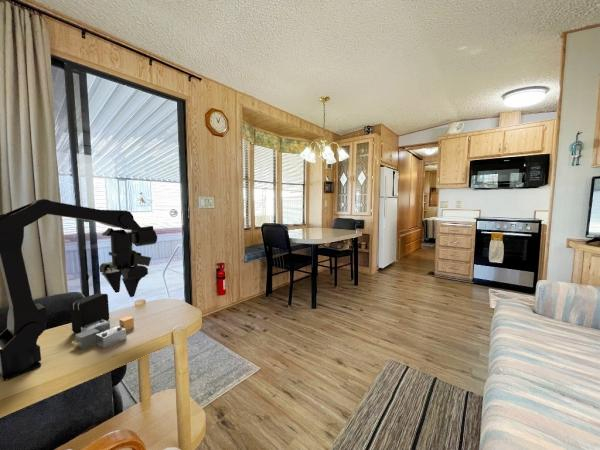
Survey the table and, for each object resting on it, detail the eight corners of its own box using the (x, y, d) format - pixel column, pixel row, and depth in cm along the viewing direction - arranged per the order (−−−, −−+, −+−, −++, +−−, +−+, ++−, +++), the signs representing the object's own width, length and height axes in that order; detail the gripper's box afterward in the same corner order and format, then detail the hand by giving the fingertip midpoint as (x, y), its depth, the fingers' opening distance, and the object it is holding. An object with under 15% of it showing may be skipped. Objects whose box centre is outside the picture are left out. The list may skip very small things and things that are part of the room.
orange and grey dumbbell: (76, 351, 72) (75, 339, 72) (71, 348, 74) (70, 336, 73) (134, 327, 86) (134, 318, 85) (128, 325, 87) (128, 315, 87)
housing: (104, 348, 73) (103, 336, 73) (81, 336, 80) (80, 325, 80) (126, 338, 78) (125, 327, 78) (103, 328, 85) (102, 318, 85)
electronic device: (109, 319, 92) (107, 293, 91) (83, 333, 82) (81, 303, 81) (99, 319, 92) (97, 292, 92) (72, 333, 83) (69, 303, 82)
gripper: (162, 246, 86) (164, 291, 87) (132, 243, 95) (134, 284, 96) (127, 252, 76) (130, 302, 77) (97, 247, 85) (100, 292, 86)
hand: (124, 294), depth 84 cm, fingers open, 9 cm apart
